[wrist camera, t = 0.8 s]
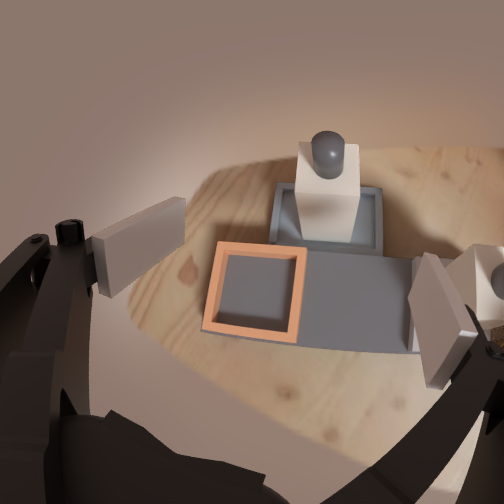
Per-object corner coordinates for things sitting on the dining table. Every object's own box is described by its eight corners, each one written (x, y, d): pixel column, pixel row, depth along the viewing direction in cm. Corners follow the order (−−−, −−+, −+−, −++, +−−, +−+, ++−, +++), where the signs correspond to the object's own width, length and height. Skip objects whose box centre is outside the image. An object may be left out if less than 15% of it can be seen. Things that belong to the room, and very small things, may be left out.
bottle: (350, 201, 32) (360, 120, 20) (349, 243, 30) (364, 174, 18) (306, 198, 33) (295, 117, 21) (302, 239, 32) (290, 170, 20)
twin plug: (470, 282, 24) (545, 234, 12) (469, 333, 22) (553, 311, 10) (428, 280, 25) (493, 225, 13) (426, 332, 23) (500, 312, 12)
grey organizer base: (475, 272, 26) (494, 260, 22) (474, 353, 24) (494, 352, 20) (225, 253, 34) (211, 238, 30) (211, 333, 31) (194, 329, 27)
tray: (379, 194, 32) (381, 188, 31) (380, 261, 30) (382, 257, 28) (278, 188, 35) (276, 182, 34) (269, 252, 33) (267, 248, 31)
